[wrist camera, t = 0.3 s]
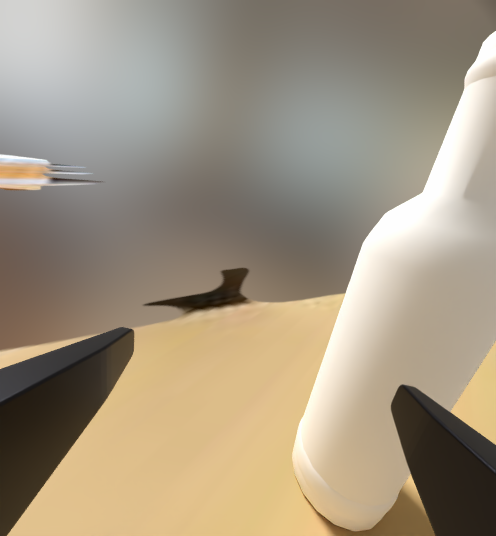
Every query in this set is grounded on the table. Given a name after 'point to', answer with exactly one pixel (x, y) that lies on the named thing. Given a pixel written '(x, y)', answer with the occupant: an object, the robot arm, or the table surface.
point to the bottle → (408, 319)
